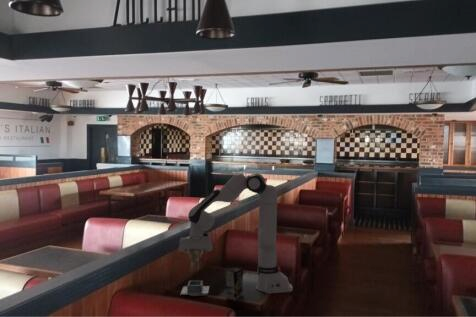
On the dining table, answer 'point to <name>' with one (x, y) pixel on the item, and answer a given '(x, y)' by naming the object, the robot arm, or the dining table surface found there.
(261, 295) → the dining table surface
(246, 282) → the dining table surface
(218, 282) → the dining table surface
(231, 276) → the coffee box
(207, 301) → the dining table surface
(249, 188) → the robot arm
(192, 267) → the beech pin
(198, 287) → the socket plate
